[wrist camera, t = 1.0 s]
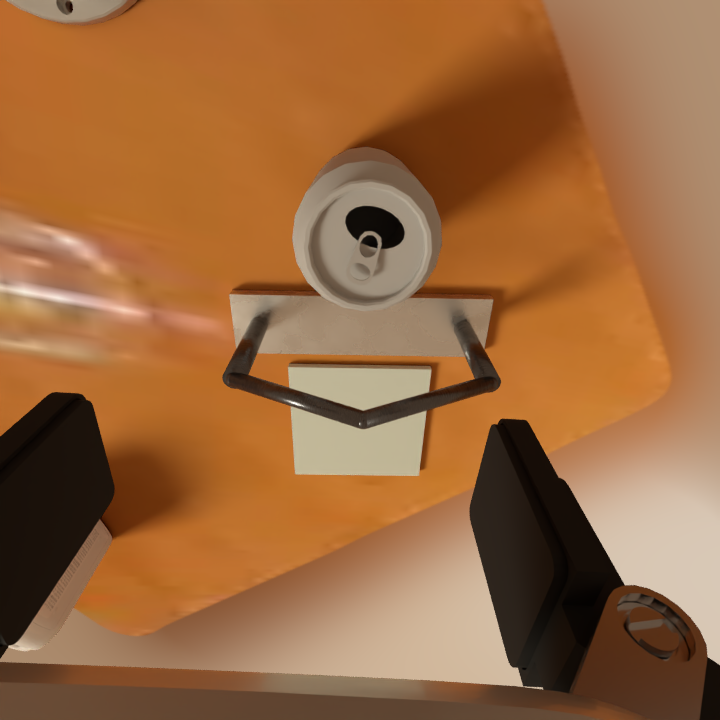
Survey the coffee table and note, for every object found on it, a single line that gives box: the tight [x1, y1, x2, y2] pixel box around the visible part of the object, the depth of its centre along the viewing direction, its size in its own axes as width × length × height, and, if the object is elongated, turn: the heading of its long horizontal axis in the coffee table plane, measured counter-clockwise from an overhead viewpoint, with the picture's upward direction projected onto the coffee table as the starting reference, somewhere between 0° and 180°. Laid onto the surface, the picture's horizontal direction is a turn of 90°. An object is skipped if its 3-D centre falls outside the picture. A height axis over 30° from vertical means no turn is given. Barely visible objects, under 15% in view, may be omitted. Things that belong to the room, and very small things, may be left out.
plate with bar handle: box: [223, 290, 501, 429], centre depth 29 cm, size 5×20×14 cm, turn 89°
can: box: [292, 147, 442, 311], centre depth 26 cm, size 8×8×12 cm
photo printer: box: [9, 519, 112, 651], centre depth 40 cm, size 10×4×12 cm, turn 15°
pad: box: [288, 364, 431, 476], centre depth 40 cm, size 12×12×1 cm
